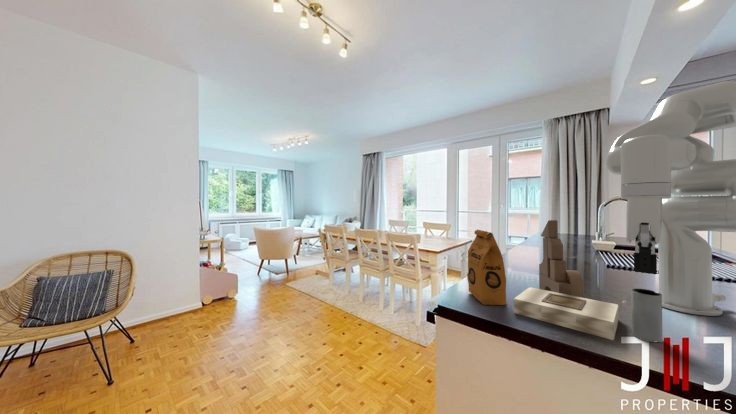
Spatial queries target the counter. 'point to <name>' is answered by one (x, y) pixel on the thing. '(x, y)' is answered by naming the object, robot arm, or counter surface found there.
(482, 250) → the coffee package
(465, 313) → the counter surface
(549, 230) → the wooden toy
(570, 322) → the rectangular box
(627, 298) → the counter surface
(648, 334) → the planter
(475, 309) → the counter surface
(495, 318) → the counter surface
